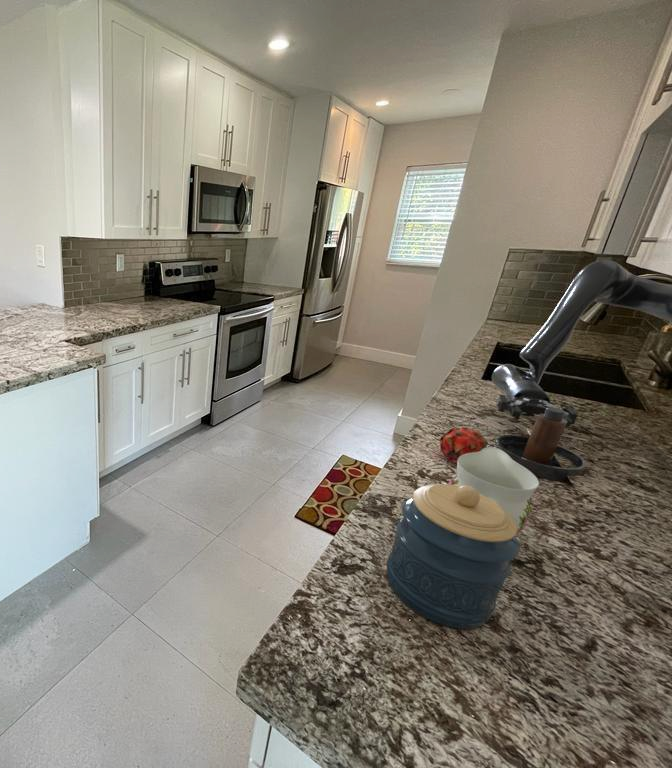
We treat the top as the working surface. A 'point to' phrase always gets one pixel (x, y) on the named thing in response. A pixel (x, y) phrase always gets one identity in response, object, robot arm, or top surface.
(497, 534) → the canister
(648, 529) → the top surface
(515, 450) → the pan
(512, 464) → the pitcher
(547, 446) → the pepper mill
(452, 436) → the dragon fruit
